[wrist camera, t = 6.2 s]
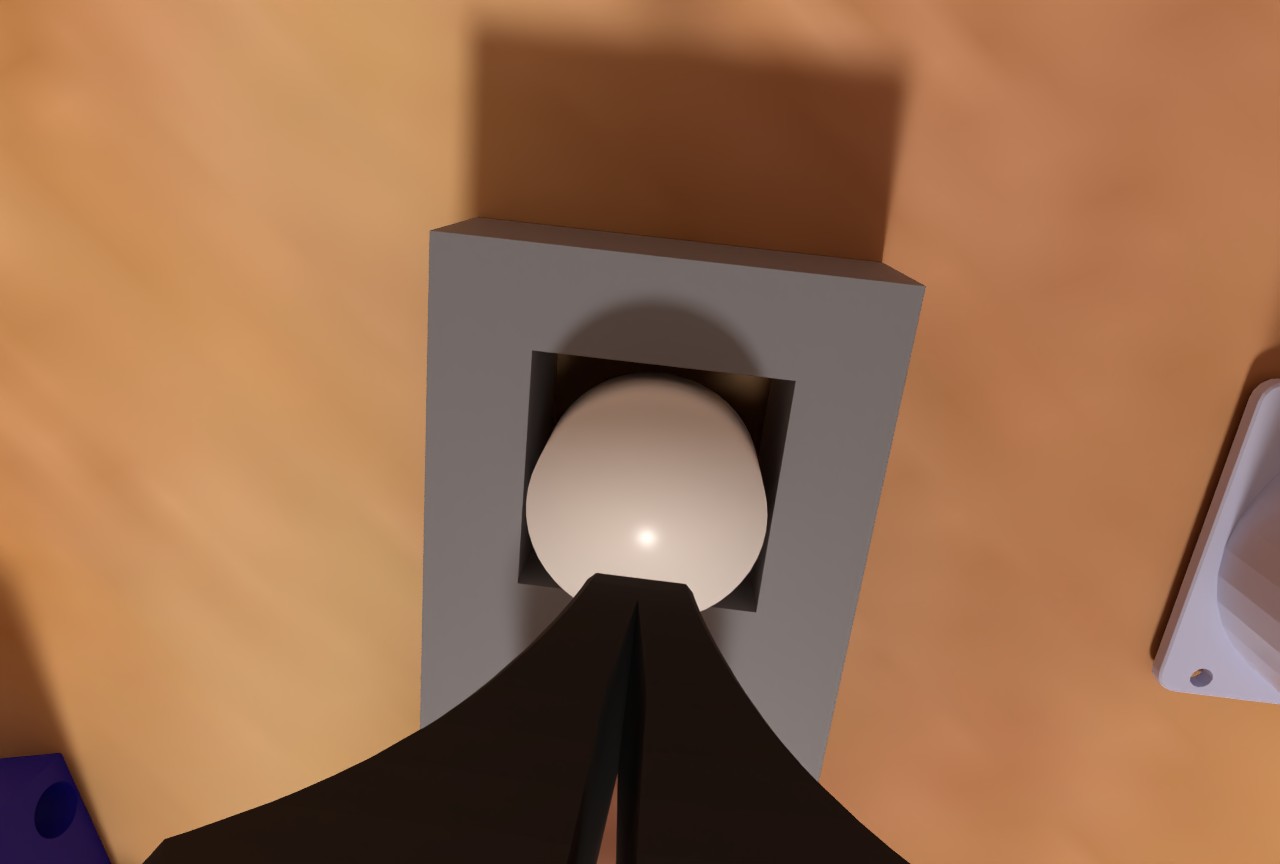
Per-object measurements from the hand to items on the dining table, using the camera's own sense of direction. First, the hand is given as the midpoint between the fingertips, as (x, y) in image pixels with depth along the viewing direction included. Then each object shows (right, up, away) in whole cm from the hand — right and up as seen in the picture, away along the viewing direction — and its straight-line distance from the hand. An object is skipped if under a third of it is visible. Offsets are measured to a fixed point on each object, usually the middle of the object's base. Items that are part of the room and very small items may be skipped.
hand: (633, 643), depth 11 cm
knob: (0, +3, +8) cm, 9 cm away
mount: (0, -4, +11) cm, 11 cm away
